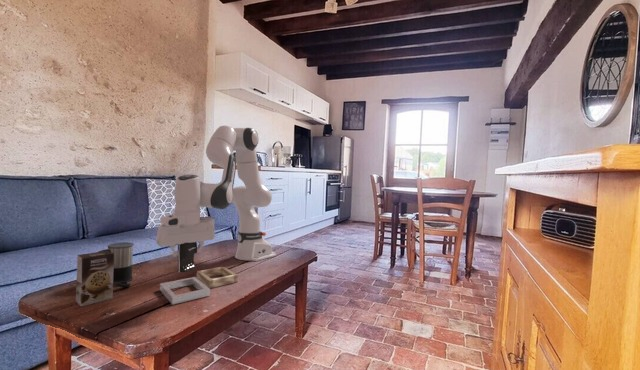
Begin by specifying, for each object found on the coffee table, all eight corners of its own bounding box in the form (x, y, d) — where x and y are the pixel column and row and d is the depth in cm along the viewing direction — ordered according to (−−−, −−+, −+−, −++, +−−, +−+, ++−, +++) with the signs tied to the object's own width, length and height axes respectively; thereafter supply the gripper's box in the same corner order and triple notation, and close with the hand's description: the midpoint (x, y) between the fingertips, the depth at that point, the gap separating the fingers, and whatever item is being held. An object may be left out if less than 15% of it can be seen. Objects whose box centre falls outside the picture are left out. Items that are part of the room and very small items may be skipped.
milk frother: (122, 275, 126) (123, 240, 126) (150, 280, 121) (151, 245, 121) (86, 286, 113) (87, 248, 113) (116, 293, 108) (117, 253, 108)
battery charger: (185, 274, 108) (185, 243, 107) (176, 272, 109) (176, 242, 108) (198, 268, 114) (198, 239, 114) (190, 266, 115) (190, 238, 115)
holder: (194, 282, 121) (194, 276, 121) (209, 295, 109) (210, 289, 109) (159, 290, 113) (160, 283, 112) (172, 304, 101) (172, 297, 101)
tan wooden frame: (223, 272, 135) (223, 266, 135) (237, 282, 124) (237, 275, 124) (196, 278, 127) (196, 271, 127) (209, 288, 116) (209, 280, 116)
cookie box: (81, 307, 96) (82, 258, 96) (75, 301, 100) (76, 254, 99) (113, 298, 103) (114, 253, 103) (106, 293, 107) (108, 249, 107)
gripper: (211, 214, 120) (210, 248, 120) (155, 219, 106) (155, 256, 106) (217, 217, 115) (217, 251, 116) (160, 221, 101) (159, 261, 102)
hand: (186, 254), depth 111 cm, fingers closed on battery charger, 7 cm apart
